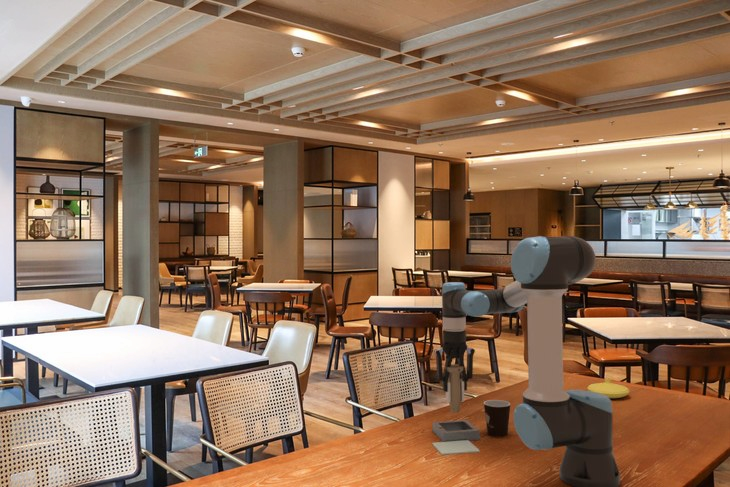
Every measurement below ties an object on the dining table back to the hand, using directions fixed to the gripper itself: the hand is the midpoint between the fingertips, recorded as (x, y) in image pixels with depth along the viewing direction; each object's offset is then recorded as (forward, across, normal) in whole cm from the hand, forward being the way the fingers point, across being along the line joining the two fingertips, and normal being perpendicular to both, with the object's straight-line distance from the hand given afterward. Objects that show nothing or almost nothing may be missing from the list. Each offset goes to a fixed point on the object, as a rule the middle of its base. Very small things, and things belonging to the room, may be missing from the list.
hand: (455, 400), depth 202 cm
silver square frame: (+11, 0, 0) cm, 11 cm away
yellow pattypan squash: (+12, -76, -33) cm, 83 cm away
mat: (+11, +4, +12) cm, 17 cm away
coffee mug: (+12, -14, 0) cm, 19 cm away
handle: (+4, 0, 0) cm, 4 cm away
